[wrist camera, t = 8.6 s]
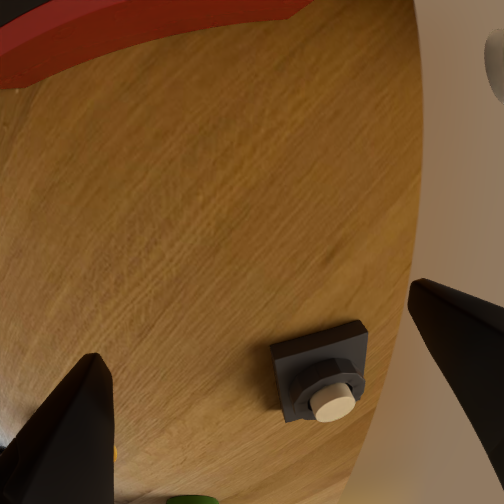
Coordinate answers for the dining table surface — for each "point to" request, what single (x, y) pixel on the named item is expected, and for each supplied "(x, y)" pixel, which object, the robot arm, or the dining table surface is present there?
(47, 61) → the toaster
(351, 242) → the dining table surface
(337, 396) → the button
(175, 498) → the wine bottle
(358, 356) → the block
